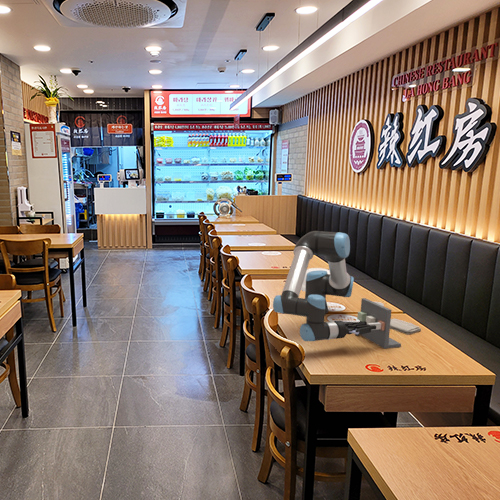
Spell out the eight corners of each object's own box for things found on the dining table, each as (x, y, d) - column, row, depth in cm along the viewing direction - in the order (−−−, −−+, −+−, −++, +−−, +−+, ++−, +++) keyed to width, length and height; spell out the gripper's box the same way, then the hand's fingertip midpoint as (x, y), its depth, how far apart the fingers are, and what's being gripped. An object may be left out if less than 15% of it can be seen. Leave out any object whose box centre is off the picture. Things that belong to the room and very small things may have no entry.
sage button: (357, 319, 213) (357, 311, 212) (363, 318, 214) (363, 311, 213) (361, 321, 209) (362, 314, 209) (367, 320, 211) (368, 313, 210)
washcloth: (409, 336, 217) (409, 330, 216) (378, 326, 231) (379, 320, 230) (422, 331, 224) (422, 326, 224) (391, 322, 238) (392, 316, 238)
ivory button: (365, 323, 206) (366, 316, 206) (371, 322, 207) (372, 315, 207) (370, 325, 203) (370, 318, 202) (376, 325, 204) (377, 317, 203)
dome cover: (292, 283, 321) (293, 264, 318) (331, 283, 324) (333, 264, 322) (302, 294, 289) (303, 273, 287) (346, 294, 293) (347, 274, 291)
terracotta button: (377, 328, 200) (378, 320, 200) (384, 327, 201) (384, 319, 201) (382, 330, 197) (383, 322, 196) (389, 329, 198) (389, 322, 198)
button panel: (358, 333, 216) (361, 298, 213) (374, 332, 219) (377, 297, 216) (384, 348, 197) (387, 310, 195) (400, 346, 200) (404, 308, 198)
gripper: (326, 333, 197) (370, 329, 205) (342, 343, 185) (388, 338, 193) (327, 317, 196) (372, 313, 204) (343, 326, 184) (390, 322, 192)
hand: (380, 325), depth 198 cm, fingers closed
